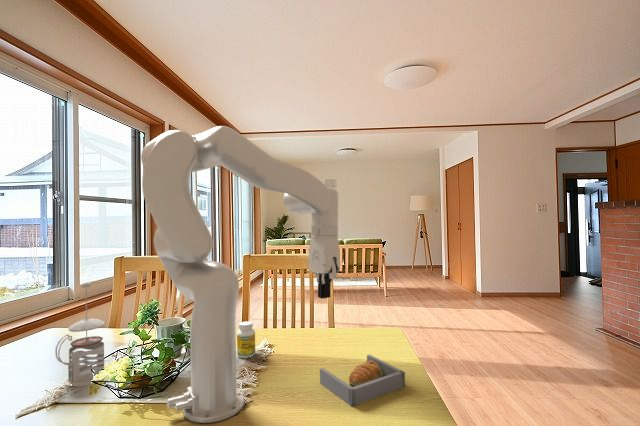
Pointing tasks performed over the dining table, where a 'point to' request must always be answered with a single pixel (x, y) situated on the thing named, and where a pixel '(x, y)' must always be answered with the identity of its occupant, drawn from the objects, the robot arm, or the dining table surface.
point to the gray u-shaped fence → (365, 384)
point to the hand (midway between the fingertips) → (324, 297)
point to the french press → (82, 373)
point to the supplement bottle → (245, 340)
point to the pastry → (365, 373)
